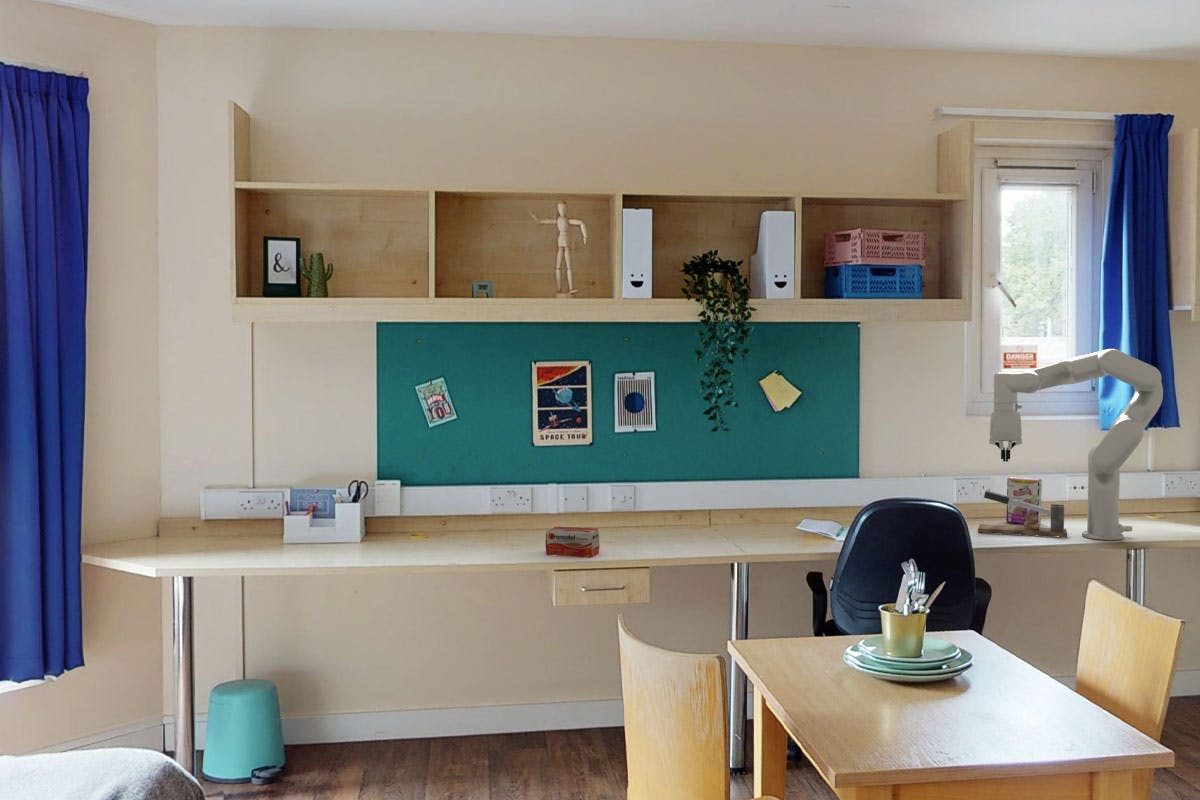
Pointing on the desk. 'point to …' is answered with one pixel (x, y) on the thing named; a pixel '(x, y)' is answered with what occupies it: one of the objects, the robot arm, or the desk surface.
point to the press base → (1019, 530)
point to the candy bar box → (1023, 498)
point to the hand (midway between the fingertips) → (1005, 461)
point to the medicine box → (572, 542)
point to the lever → (1015, 502)
